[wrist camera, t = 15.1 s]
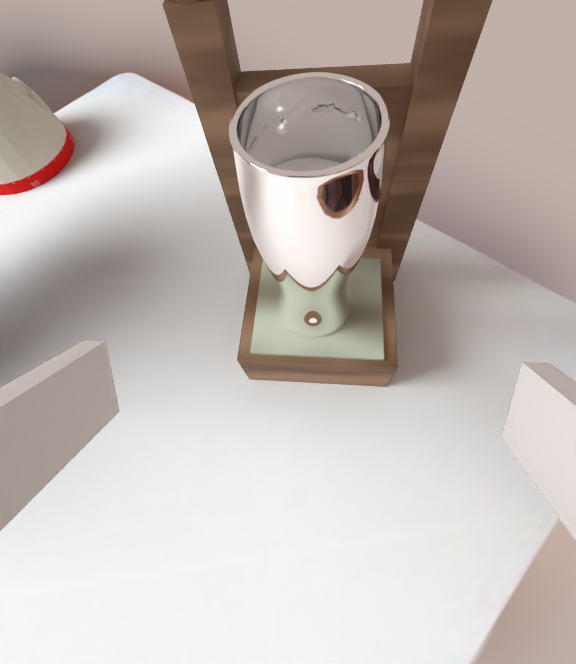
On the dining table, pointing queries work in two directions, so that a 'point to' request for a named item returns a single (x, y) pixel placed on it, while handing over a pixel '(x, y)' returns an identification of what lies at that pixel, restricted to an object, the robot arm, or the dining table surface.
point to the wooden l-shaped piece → (396, 196)
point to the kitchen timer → (29, 139)
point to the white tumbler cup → (311, 188)
